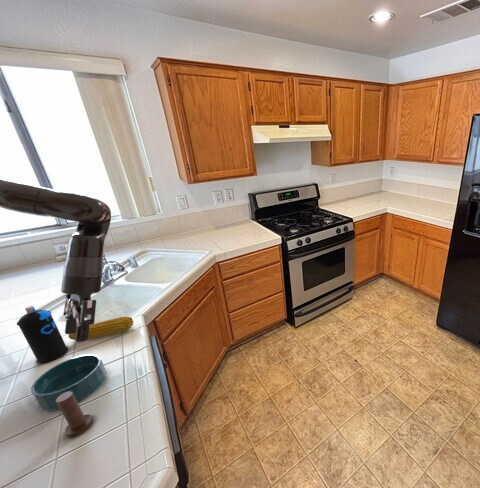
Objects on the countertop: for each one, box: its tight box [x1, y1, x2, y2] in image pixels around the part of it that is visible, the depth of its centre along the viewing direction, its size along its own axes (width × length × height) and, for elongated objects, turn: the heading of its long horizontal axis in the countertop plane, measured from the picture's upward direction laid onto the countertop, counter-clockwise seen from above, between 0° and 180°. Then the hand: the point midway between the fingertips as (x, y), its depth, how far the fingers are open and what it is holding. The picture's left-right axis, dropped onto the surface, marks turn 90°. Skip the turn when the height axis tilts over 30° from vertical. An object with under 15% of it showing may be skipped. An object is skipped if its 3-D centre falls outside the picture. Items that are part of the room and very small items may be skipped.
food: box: [68, 316, 134, 341], centre depth 102 cm, size 21×6×6 cm, turn 109°
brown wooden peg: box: [56, 391, 94, 439], centre depth 65 cm, size 5×5×11 cm
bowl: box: [30, 353, 108, 411], centre depth 78 cm, size 15×15×6 cm
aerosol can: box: [16, 305, 69, 364], centre depth 90 cm, size 8×8×20 cm
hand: (75, 337), depth 67 cm, fingers open, 8 cm apart
